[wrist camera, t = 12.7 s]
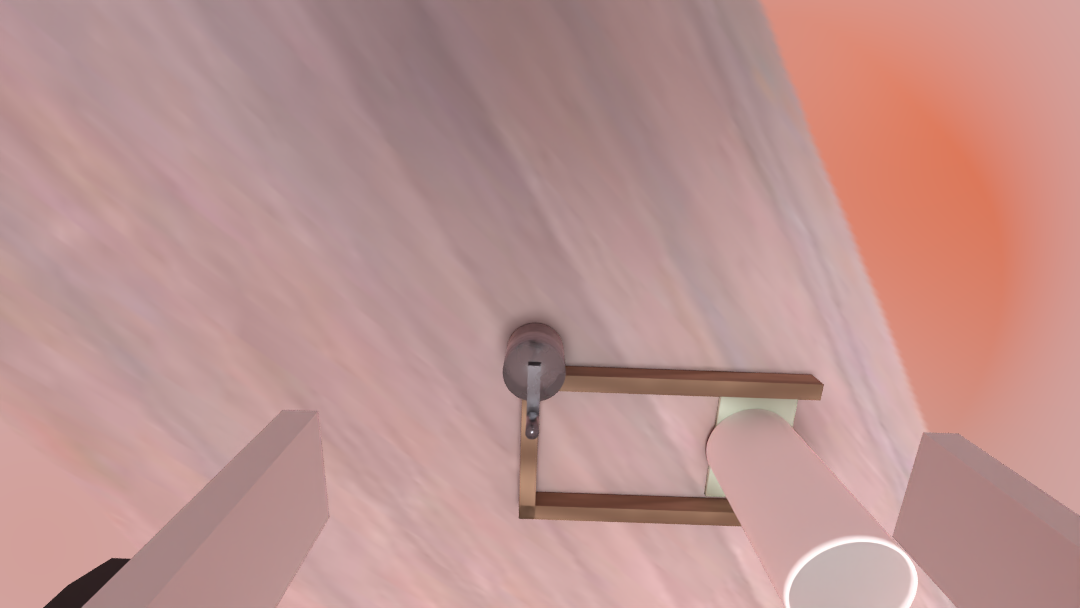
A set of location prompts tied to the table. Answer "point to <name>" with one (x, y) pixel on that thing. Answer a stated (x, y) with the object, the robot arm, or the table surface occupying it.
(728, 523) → the frame
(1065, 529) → the robot arm
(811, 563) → the cup
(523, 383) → the winch drum
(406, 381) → the table surface
